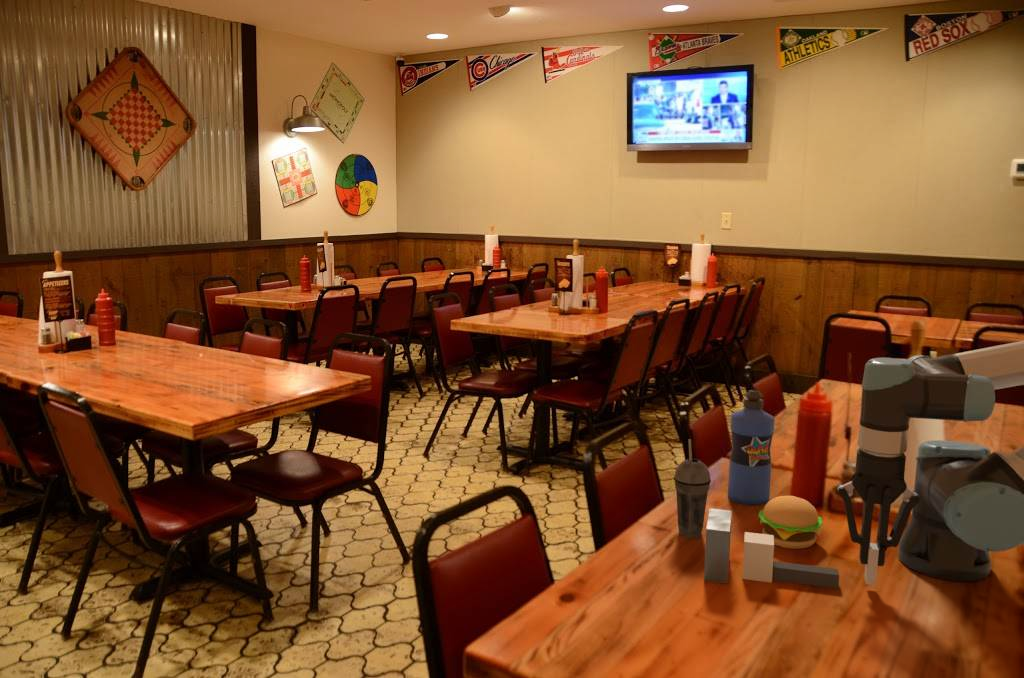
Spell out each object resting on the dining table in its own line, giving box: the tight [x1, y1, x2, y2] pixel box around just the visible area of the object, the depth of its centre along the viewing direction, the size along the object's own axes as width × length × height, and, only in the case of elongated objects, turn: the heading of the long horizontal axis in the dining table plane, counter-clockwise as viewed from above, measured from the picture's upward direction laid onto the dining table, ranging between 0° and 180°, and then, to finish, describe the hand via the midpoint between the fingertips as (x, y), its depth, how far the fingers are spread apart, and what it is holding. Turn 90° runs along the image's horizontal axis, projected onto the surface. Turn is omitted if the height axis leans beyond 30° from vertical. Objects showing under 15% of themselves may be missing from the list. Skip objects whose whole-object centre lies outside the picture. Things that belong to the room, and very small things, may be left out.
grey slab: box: [703, 507, 733, 585], centre depth 146 cm, size 4×10×10 cm, turn 163°
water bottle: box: [727, 388, 776, 506], centre depth 180 cm, size 9×9×25 cm
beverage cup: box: [673, 438, 712, 539], centre depth 161 cm, size 7×7×20 cm
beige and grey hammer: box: [742, 531, 840, 590], centre depth 143 cm, size 16×4×7 cm, turn 73°
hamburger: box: [758, 495, 823, 550], centre depth 160 cm, size 12×12×9 cm
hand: (869, 581), depth 140 cm, fingers closed
